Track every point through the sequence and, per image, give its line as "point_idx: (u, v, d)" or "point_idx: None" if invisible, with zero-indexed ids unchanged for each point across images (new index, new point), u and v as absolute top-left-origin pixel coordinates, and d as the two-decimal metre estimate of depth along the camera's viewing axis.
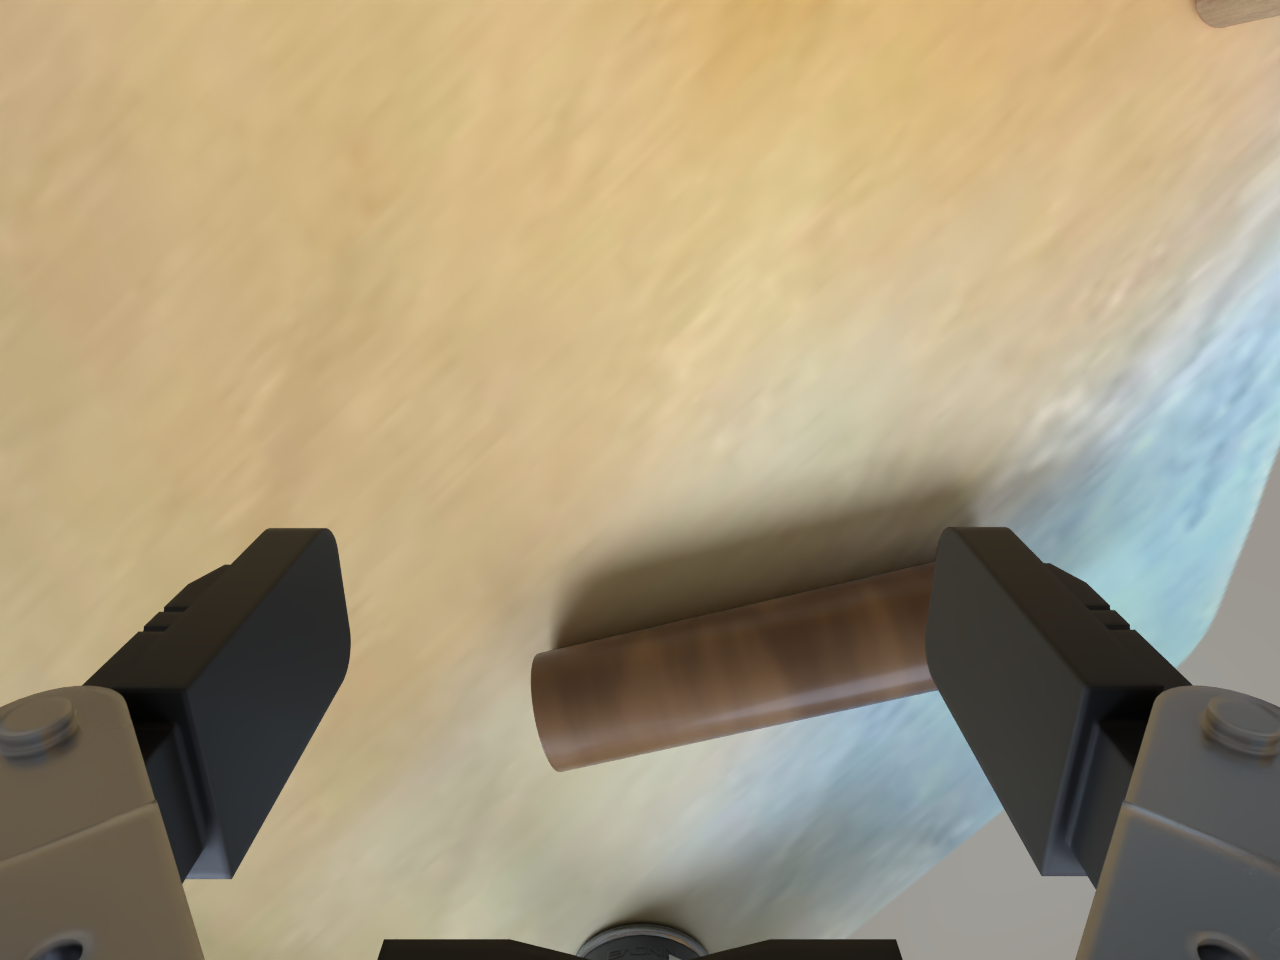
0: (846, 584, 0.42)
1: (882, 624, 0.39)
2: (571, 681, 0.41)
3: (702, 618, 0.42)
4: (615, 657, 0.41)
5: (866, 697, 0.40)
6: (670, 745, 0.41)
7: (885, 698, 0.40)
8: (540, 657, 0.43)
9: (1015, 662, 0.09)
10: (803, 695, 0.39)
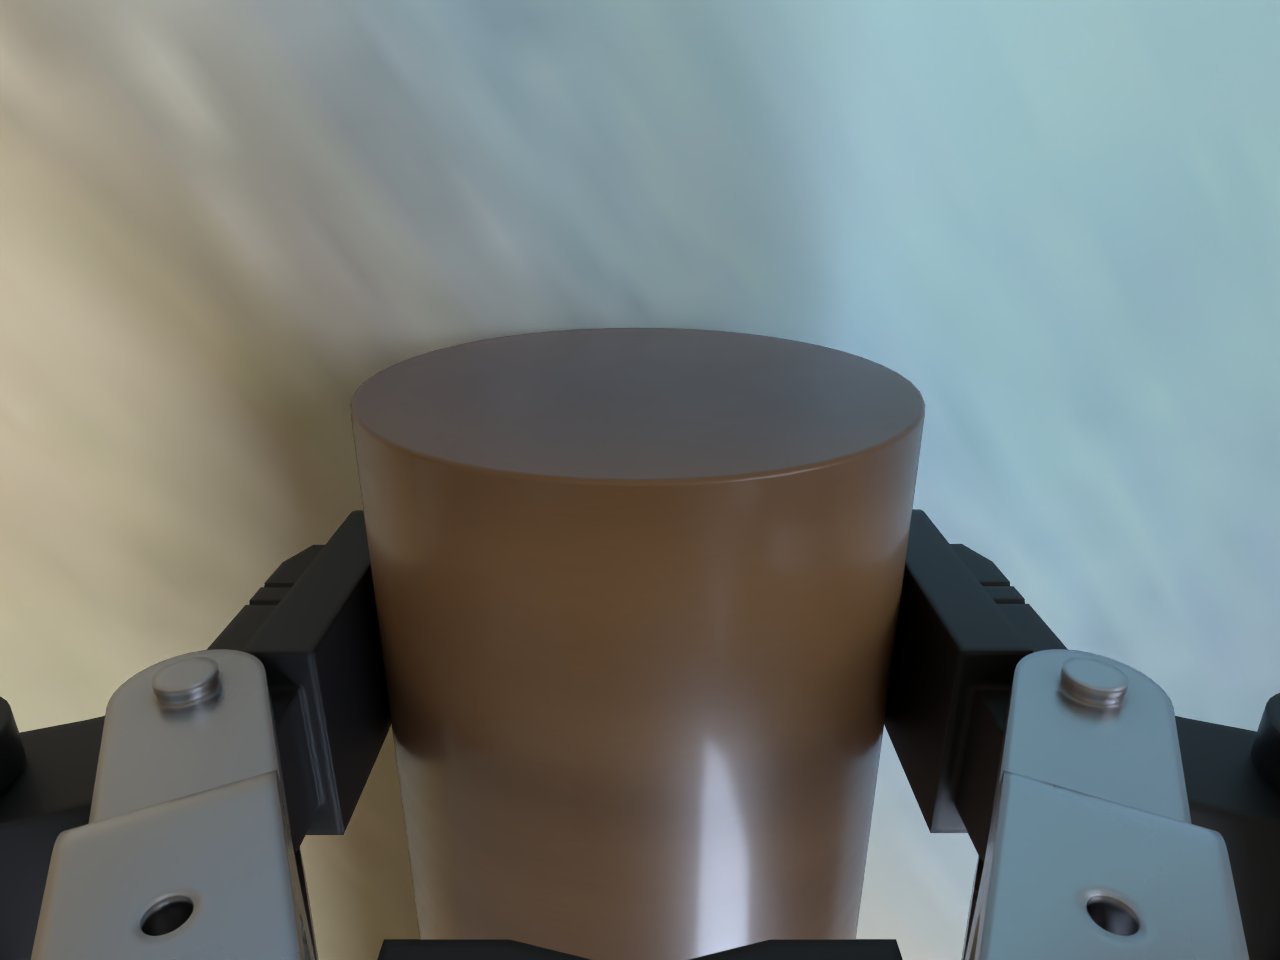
0: None
1: None
2: None
3: None
4: None
5: None
6: None
7: None
8: None
9: (912, 634, 0.09)
10: None
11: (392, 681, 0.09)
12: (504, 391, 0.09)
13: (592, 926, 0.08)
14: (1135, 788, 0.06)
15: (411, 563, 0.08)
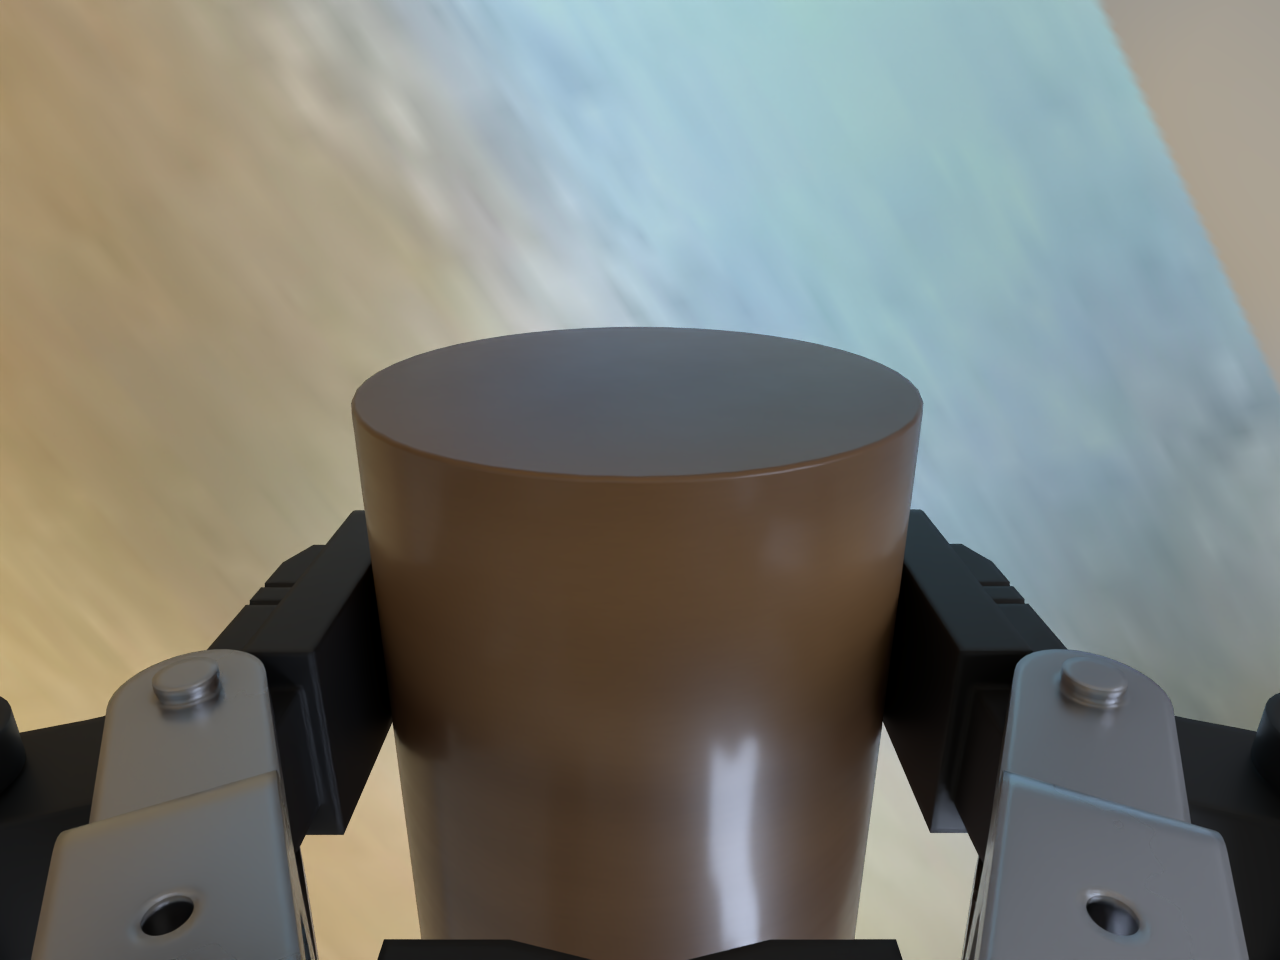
0: None
1: None
2: None
3: None
4: None
5: None
6: None
7: None
8: None
9: (912, 633, 0.09)
10: None
11: (393, 678, 0.09)
12: (506, 390, 0.09)
13: (592, 921, 0.08)
14: (1135, 787, 0.06)
15: (411, 561, 0.08)
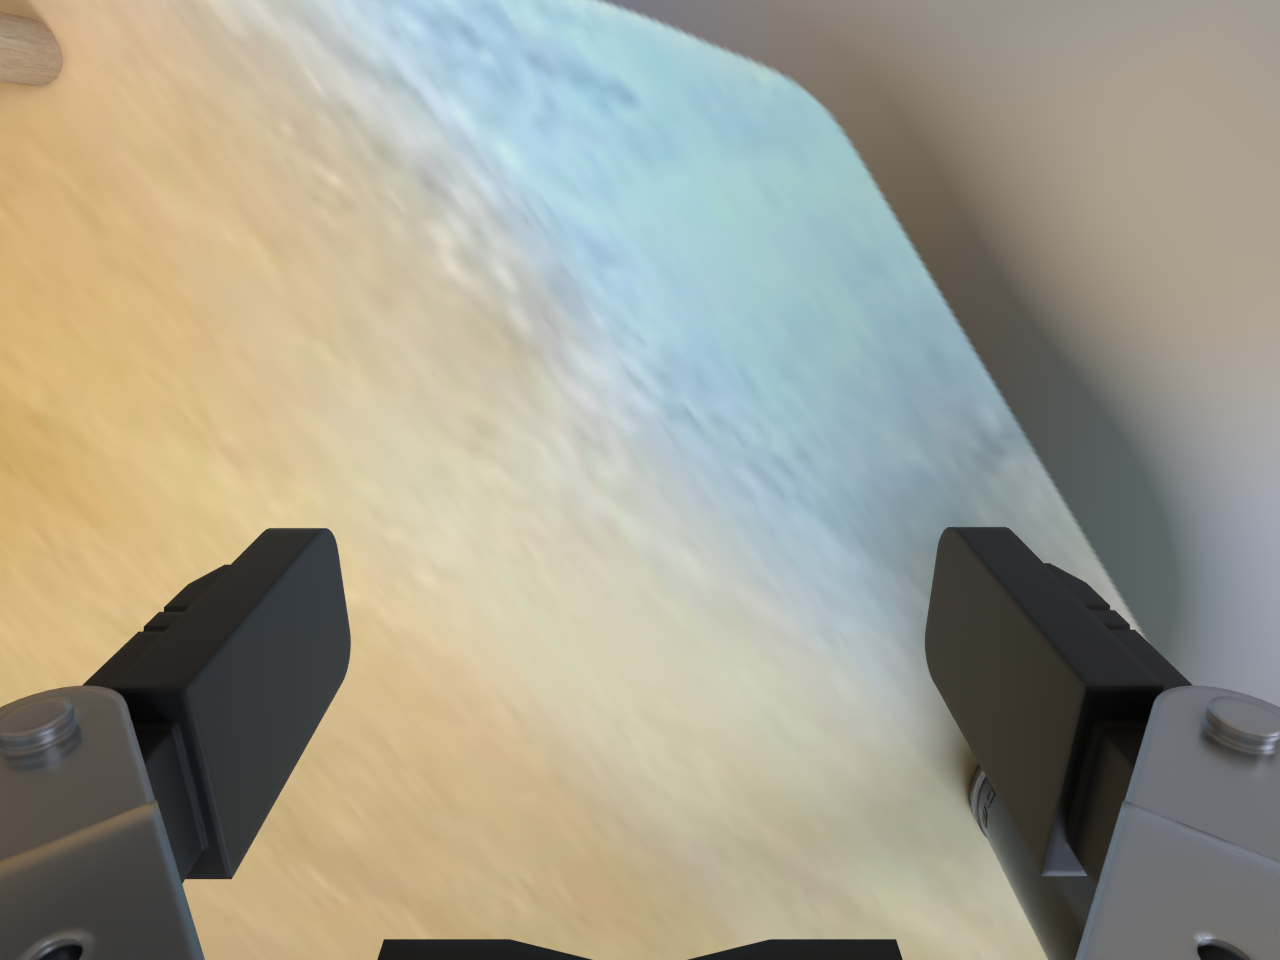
0: None
1: None
2: None
3: None
4: None
5: None
6: None
7: None
8: None
9: (1015, 662, 0.09)
10: None
11: None
12: None
13: None
14: None
15: None
